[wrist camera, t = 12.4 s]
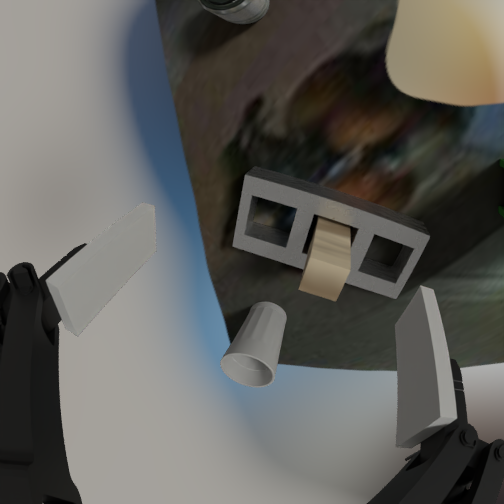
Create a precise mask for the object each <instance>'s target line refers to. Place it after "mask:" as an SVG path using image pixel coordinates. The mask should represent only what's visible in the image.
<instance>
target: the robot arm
mask: <svg viewBox="0 0 504 504" xmlns="http://www.w3.org/2000/svg"><path fill="white" fill-rule="evenodd" d="M155 252H156V232H155V206H153V205H150V204H146V203H141V204H140V205H138V206H137V207H135V208H134V209H133V210H131V211H130V212H129V213H127V214H126V215H125V216H123V217H122V218H121V219H119V220H118V221H117V222H115V223H114V224H113V225H111V226H110V227H109V228H108V229H106V230H105V231H104V232H102V233H101V234H100V235H98V236H97V237H96V238H95V239H93V240H92V241H91V242H90V243H89V244H85V243H84V244H82V245H80V246H78V247H76V248H74V249H73V250H72V251H70V252H69V253H68V254H67V256H65V257H63V258H62V259H61V261H58V262H57V263H56V264H55V265H54V266H53V267H51V268H50V269H49V270H48V271H47V272H46V273H45V274H44V275H42V276H41V277H40V278H39V279H38V277H37V274H36V271H35V269H34V266H33V265H32V264H31V263H28V262H23V263H19V264H17V265H15V266H14V267H12V268H11V269H10V270H9V272H8V274H7V276H8V279H9V281H10V283H9V282H8V280H7V278H6V276H5V274H4V273H1V272H0V504H82V501H81V497H80V494H79V491H78V489H77V487H76V486H75V484H74V483H73V481H72V479H71V476H70V473H69V468H68V462H67V457H66V451H65V445H64V437H63V429H62V420H61V409H60V395H59V370H58V369H59V365H58V364H59V363H58V361H59V359H58V358H59V355H58V354H59V352H58V351H59V327H58V323H59V322H60V321H61V320H62V322H63V324H64V326H65V328H66V329H67V330H68V331H70V332H71V333H73V334H74V335H76V336H79V335H80V334H81V332H82V331H83V330H84V329H85V328H86V327H87V326H88V324H89V323H90V322H91V321H92V320H93V319H94V317H95V316H96V315H97V314H98V313H99V312H100V311H101V310H102V308H103V307H104V306H105V305H106V304H107V303H108V302H109V301H110V300H111V298H112V297H113V296H114V295H115V294H116V293H117V292H118V291H119V290H120V289H121V288H122V287H123V285H124V284H125V283H126V282H127V281H128V280H129V279H130V278H131V277H132V276H133V275H134V274H135V273H136V272H137V271H138V270H139V269H140V267H141V266H142V265H143V264H144V263H145V262H146V261H147V260H148V259H149V258H150V257H151V256H152V255H153V254H154V253H155ZM395 333H396V349H397V376H398V409H397V410H398V411H397V435H396V447H402V448H413V447H414V446H416V445H418V444H420V443H421V449H420V450H419V451H418V452H416V453H414V454H412V455H410V456H409V457H407V458H406V459H405V460H406V461H407V460H409V459H411V460H410V461H409V462H408V463H407V464H406V465H405V466H404V467H403V468H402V469H401V471H400V472H399V473H398V474H397V475H396V476H395V477H394V478H393V479H392V480H391V481H390V482H389V483H388V484H387V485H386V486H385V487H384V488H383V489H382V490H381V491H380V492H379V493H378V494H377V495H376V496H375V497H374V498H373V499H372V500H371V501H369V502H368V503H367V504H495V503H496V500H497V497H498V494H499V491H500V488H501V485H502V482H503V478H504V441H503V440H501V439H498V440H495V441H494V442H492V443H490V444H488V443H486V442H484V441H482V440H480V439H478V435H477V431H476V430H475V429H474V427H473V426H471V425H470V424H468V422H467V412H466V403H465V395H464V392H463V390H464V388H463V383H462V375H461V370H460V368H459V366H458V364H457V362H456V360H454V359H450V358H449V353H448V348H447V343H446V338H445V334H444V329H443V325H442V321H441V316H440V312H439V308H438V305H437V301H436V297H435V294H434V290H433V289H430V288H427V287H424V286H421V285H420V287H419V289H418V290H417V292H416V294H415V295H414V297H413V298H412V300H411V302H410V303H409V305H408V306H407V308H406V309H405V311H404V312H403V314H402V316H401V317H400V319H399V320H398V321H397V323H396V324H395ZM470 483H472V484H471V487H470V489H469V486H470ZM42 502H43V503H42Z"/></svg>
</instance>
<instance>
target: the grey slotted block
mask: <svg viewBox="0 0 504 504" xmlns="http://www.w3.org/2000/svg"><path fill="white" fill-rule="evenodd" d="M258 197H260V198H264V199H267V200H271V201H274V202H277V203H281V204H284V205H287V206H291V207H294V208H297V212H296V215H295V219H294V222H293V226H292V229H291V233H289V232H285V231H282V230H279V229H276V228H273V227H269V226H266V225H263V224H260V223H256V222H253V220H254V215H255V210H256V206H257V201H258ZM314 214H316V215H319V216H323V217H326V218H329V219H332V220H335V221H338V222H341V223H344V224H347V225H350V226H353V229H352V231H351V234H350V242H351V270H350V273H349V275H348V277H347V279H346V281H345V283H347V284H351V285H354V286H357V287H360V288H363V289H366V290H369V291H372V292H375V293H379V294H382V295H385V296H388V297H391V298H394V299H397V297H398V295H399V294H400V292H401V290H402V288H403V287H404V285H405V283H406V282H407V280H408V278H409V276H410V274H411V273H412V271H413V269H414V267H415V265H416V263H417V262H418V260H419V258H420V256H421V254H422V252H423V250H424V248H425V246H426V244H427V242H428V240H429V238H430V234H429V232H428V230H427V228H426V227H425V225H424V223H423V222H422V221H419V220H417V219H414V218H412V217H409V216H407V215H404V214H402V213H399V212H396V211H394V210H391V209H389V208H386V207H383V206H380V205H378V204H375V203H372V202H369V201H367V200H364V199H361V198H358V197H355V196H352V195H349V194H346V193H343V192H340V191H337V190H334V189H331V188H328V187H325V186H322V185H318V184H315V183H312V182H309V181H305V180H302V179H299V178H295V177H292V176H288V175H285V174H281V173H278V172H274V171H271V170H267V169H263V168H259V167H256V166H255V167H253V168H252V169H251V170H250V171H249V172H248V173H246V174H245V178H244V184H243V189H242V195H241V200H240V206H239V211H238V217H237V223H236V229H235V234H234V240H233V246H232V247H236V248H239V249H242V250H245V251H248V252H251V253H254V254H257V255H260V256H264V257H267V258H270V259H273V260H276V261H279V262H282V263H285V264H288V265H291V266H295V267H298V268H301V269H304V266H305V262H306V258H307V254H308V250H309V246H310V242H311V239H307V235H308V231H309V228H310V225H311V222H312V219H313V216H314ZM374 234H376V235H379V236H381V237H384V238H387V239H390V240H393V241H395V242H398V243H401V244H403V246H402V248H401V251H400V253H399V255H398V257H397V259H396V261H395V263H394V264H393V266H389V265H386V264H383V263H380V262H377V261H374V260H371V259H368V258H365V254H366V252H367V250H368V248H369V245H370V243H371V241H372V239H373V236H374Z"/></svg>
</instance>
